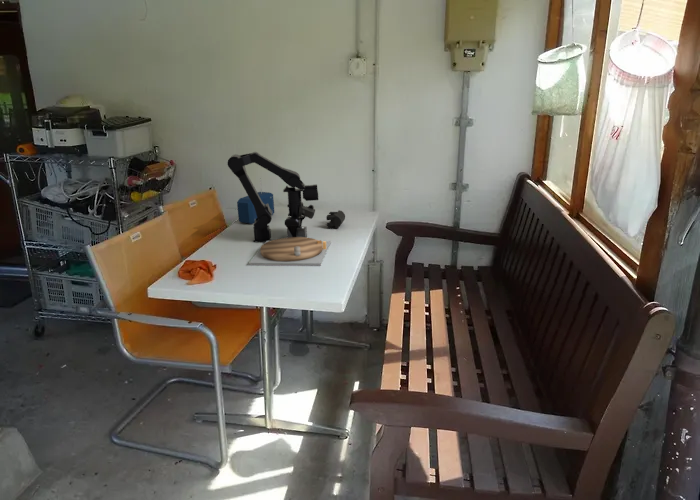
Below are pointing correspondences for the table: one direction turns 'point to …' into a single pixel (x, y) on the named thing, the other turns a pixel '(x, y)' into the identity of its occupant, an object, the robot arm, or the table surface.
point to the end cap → (335, 219)
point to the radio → (247, 208)
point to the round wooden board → (291, 249)
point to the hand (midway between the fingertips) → (297, 235)
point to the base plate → (313, 261)
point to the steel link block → (299, 232)
